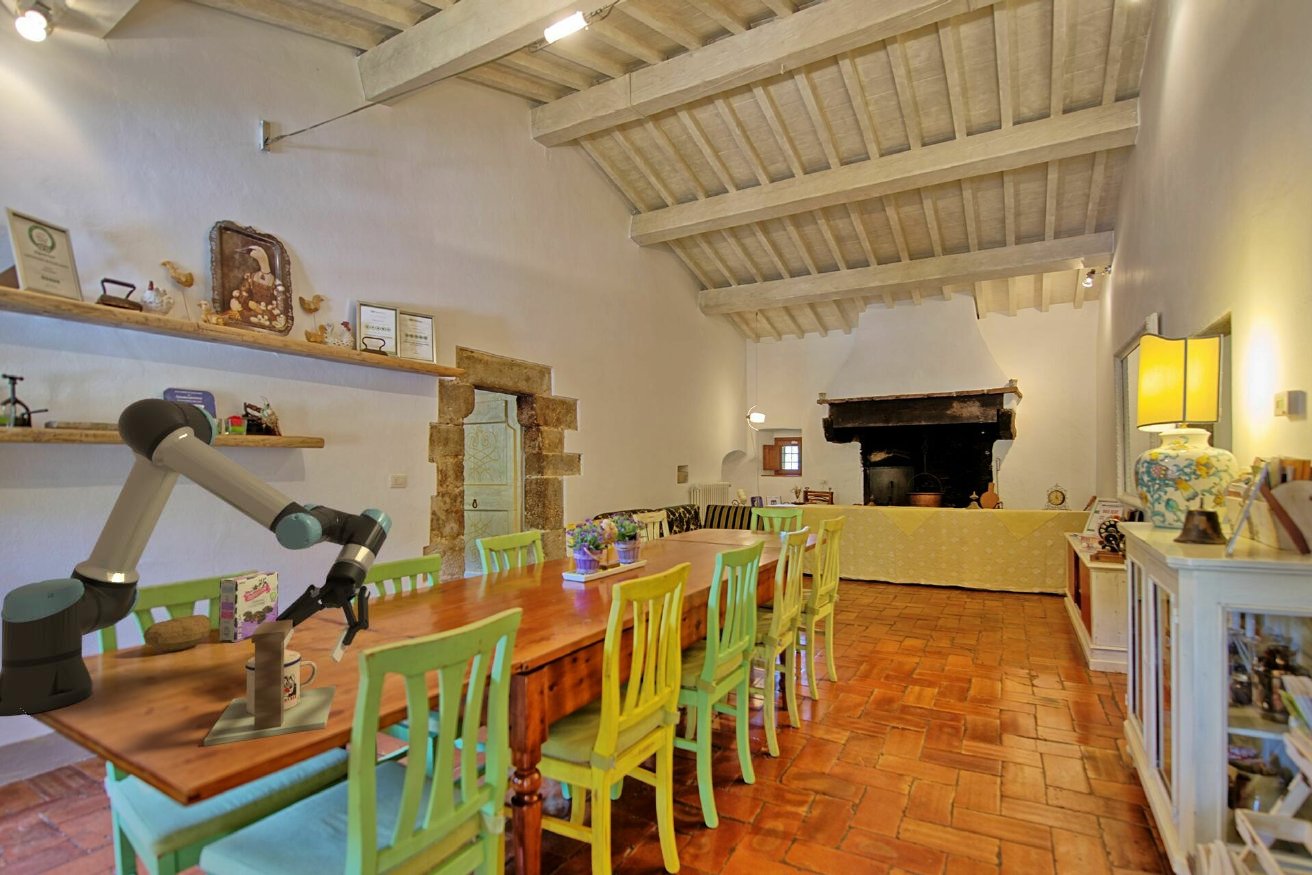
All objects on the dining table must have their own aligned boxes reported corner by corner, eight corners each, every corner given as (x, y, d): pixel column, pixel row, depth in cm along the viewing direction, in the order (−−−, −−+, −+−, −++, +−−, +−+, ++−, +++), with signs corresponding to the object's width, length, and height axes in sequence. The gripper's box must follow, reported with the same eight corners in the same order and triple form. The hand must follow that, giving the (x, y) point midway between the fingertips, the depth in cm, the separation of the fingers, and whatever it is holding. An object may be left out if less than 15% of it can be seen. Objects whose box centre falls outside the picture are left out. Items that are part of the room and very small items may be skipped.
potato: (138, 652, 160) (139, 620, 160) (204, 640, 171) (205, 609, 171) (148, 660, 154) (149, 626, 154) (216, 646, 164) (217, 615, 165)
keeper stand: (204, 746, 106) (205, 640, 107) (233, 703, 125) (233, 614, 126) (324, 727, 113) (325, 628, 114) (335, 690, 132) (335, 605, 132)
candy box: (235, 643, 167) (235, 580, 168) (217, 641, 169) (218, 579, 169) (278, 629, 181) (279, 570, 181) (262, 628, 182) (262, 570, 183)
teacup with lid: (249, 720, 114) (250, 654, 115) (240, 706, 121) (241, 644, 121) (323, 702, 122) (323, 641, 123) (310, 690, 129) (310, 632, 129)
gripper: (408, 579, 144) (368, 669, 129) (308, 578, 148) (258, 664, 133) (394, 560, 139) (351, 650, 124) (292, 558, 143) (238, 646, 128)
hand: (303, 658), depth 128 cm, fingers open, 13 cm apart
